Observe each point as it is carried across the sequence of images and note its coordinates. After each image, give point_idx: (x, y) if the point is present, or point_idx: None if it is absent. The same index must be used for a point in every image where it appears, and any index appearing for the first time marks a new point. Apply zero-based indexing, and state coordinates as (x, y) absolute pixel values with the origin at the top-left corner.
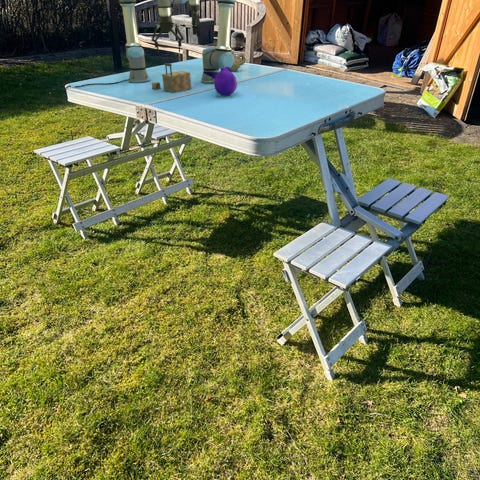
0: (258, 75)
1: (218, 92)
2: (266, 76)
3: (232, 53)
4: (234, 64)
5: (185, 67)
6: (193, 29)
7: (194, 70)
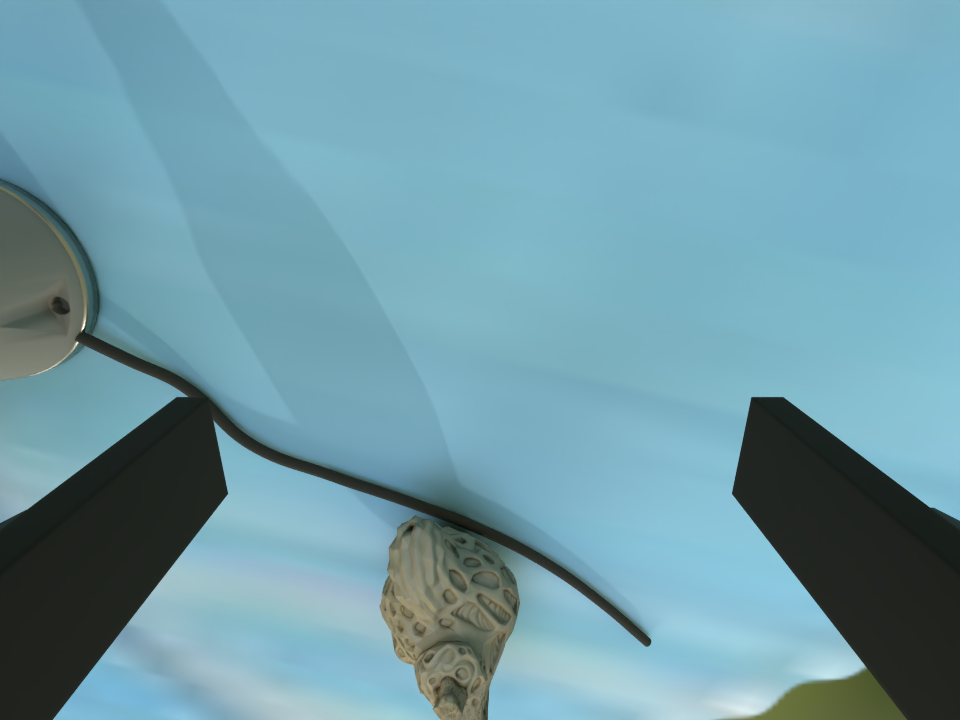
0: (216, 660)
1: None
2: (165, 690)
3: (440, 694)
4: (380, 606)
5: (918, 194)
6: (856, 519)
7: (670, 252)
